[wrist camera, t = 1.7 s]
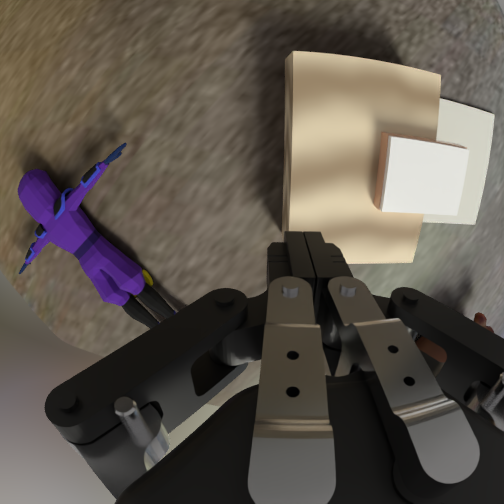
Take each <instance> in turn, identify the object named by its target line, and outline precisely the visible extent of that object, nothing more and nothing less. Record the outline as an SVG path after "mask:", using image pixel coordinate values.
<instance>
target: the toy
mask: <svg viewBox="0 0 504 504" xmlns="http://www.w3.org/2000/svg"><path fill="white" fill-rule="evenodd" d="M125 146H126V143H124V144H122V145H121V146H119V147H118V148H117V149H116V150H115V151H114V152H113V153H112V154H110V155H109V156H108V157H107V159H106V160H104V161H103V162H98V163H97V164H95V165H94V166H93V167H92V168H91V169H90V170H89V171H88V172H87V173H86V174H85V175H84V176H83V177H82V179H81V181H80V184H79V185H78V186H77V187H76V188H75V189H74V190H73V189H72V188H68V189H66V190H65V191H64V192H63V193H62V194H61V192H60V191H59V190H58V188H57V187H56V186H55V185H54V183H53V182H52V181H51V179H50V177H49V176H48V174H47V172H46V171H43V170H40V169H34V170H30V171H28V172H27V173H26V174H25V175H24V176H23V178H22V179H21V181H20V184H19V187H18V195H19V198H20V200H21V202H22V204H23V205H24V207H25V209H26V210H27V211H28V212H29V214H30V215H31V216H32V217H33V218H34V219H35V220H36V221H37V222H38V223H40V224H39V226H38V227H37V229H36V230H35V235H36V237H38V238H37V241H36V242H34V243H32V244H31V246H30V248H29V250H28V252H27V255H26V258H25V260H26V261H25V263H24V264H23V266H22V268H21V270H20V272H19V274H21V273H22V272H23V271H24V270H25V268H26V267H27V265H28V264H31V261H32V260H33V259H34V258H35V257H36V256H37V255H38V254H39V253H40V251H41V250H42V248H43V247H44V246H45V245H46V244H48V243H49V242H50V241H51V242H52V243H54V244H55V245H57V246H59V247H61V248H62V249H64V250H66V251H68V252H70V253H72V254H74V255H75V257H76V258H77V259H78V260H79V262H80V264H81V267H82V269H83V270H84V272H85V273H86V275H87V276H88V277H89V278H90V279H91V281H92V283H93V284H94V286H95V287H96V289H97V291H98V292H99V294H100V296H101V298H102V299H103V301H104V302H109V303H113V304H116V305H118V306H122V307H123V309H124V310H125V312H126V313H127V314H128V315H130V316H131V317H132V318H133V319H135V320H137V321H139V322H141V323H143V324H145V325H146V326H147V327H149V328H150V329H152V328H153V327H155V326H156V325H158V324H160V323H159V322H158V321H157V320H156V319H155V318H154V317H153V316H152V315H151V314H150V313H149V312H148V311H147V310H146V309H145V308H144V307H143V306H142V305H141V304H140V303H139V302H138V301H137V300H136V299H135V298H136V297H137V296H138V297H139V299H140V300H141V301H142V302H143V303H144V304H146V305H147V306H148V307H149V308H151V309H152V310H154V311H156V312H157V313H159V314H161V315H162V316H163V317H165V318H166V319H168V318H169V317H171V316H172V315H174V314H176V313H177V312H175V311H174V310H173V309H172V308H171V307H170V306H169V305H168V304H167V302H166V301H165V300H164V299H163V298H162V297H161V296H160V294H159V293H158V292H157V291H156V290H155V289H154V288H153V287H151V286H152V285H153V281H152V278H151V277H150V275H149V274H148V272H146V271H145V270H142V269H141V267H140V266H139V265H137V264H136V263H135V262H133V261H132V260H131V259H129V258H128V257H127V256H126V255H124V254H123V253H122V252H121V251H120V250H118V249H117V248H116V247H115V246H113V245H112V244H111V243H110V242H109V241H107V240H106V239H105V238H104V237H103V236H102V235H101V234H100V233H99V232H98V231H97V230H96V229H95V228H94V226H93V225H92V223H91V222H90V220H89V219H88V217H87V216H86V214H85V213H84V212H83V211H82V210H81V208H80V207H79V205H80V203H81V201H82V200H83V198H84V196H85V195H86V193H87V192H88V191H89V190H90V189H91V188H92V187H93V186H94V184H95V183H96V182H97V180H98V179H99V178H100V176H101V175H102V173H103V172H104V171H105V169H106V168H107V166H108V165H109V163H110V162H112V161H113V160H115V159H116V158H118V157H119V156H120V155H121V154H122V152H121V150H122V149H123V148H124V147H125Z"/></svg>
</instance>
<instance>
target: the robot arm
mask: <svg viewBox="0 0 504 504" xmlns="http://www.w3.org/2000/svg"><path fill="white" fill-rule="evenodd" d="M417 333H419V334H420V335H422V336H423V337H425V338H427V339H428V340H430V341H432V342H433V343H435V344H437V345H438V346H440V347H442V348H443V349H444V350H445V352H446V354H447V359H446V361H445V362H439V361H437V360H436V359H434V358H433V357H431V356H429V355H428V354H426V353H425V352H423V351H421V350H420V349H418V347H417V346H416V344H415V342H414V340H415V338H416V336H417ZM260 359H261V370H260V380H259V384H257V385H254V386H251V387H249V388H247V389H244V390H242V391H241V392H239V393H237V394H236V395H234V396H233V397H231V398H230V399H229V400H228V401H226V402H225V403H224V404H223V405H222V406H221V407H220V408H219V409H218V410H217V411H216V412H215V413H214V414H212V415H211V416H210V417H209V418H208V419H207V420H206V421H205V422H204V423H203V424H202V425H201V426H199V427H198V428H197V429H196V430H195V431H194V432H193V433H192V434H190V435H189V436H188V437H187V438H186V439H185V440H184V441H183V442H181V443H180V444H179V445H178V446H177V447H176V448H174V449H173V450H172V451H171V452H170V453H169V454H168V455H166V456H165V457H164V458H163V459H162V460H160V459H161V458H162V457H163V456H164V455H165V454H166V452H167V451H168V449H169V445H170V438H169V435H168V434H169V433H170V432H171V431H172V430H173V429H175V428H176V427H177V426H179V425H180V424H181V423H182V422H184V421H185V420H186V419H187V418H188V417H190V416H191V415H192V414H194V413H195V412H196V411H197V410H199V409H200V408H201V407H202V406H203V405H205V404H206V403H207V402H208V401H209V400H211V399H212V398H213V397H214V396H215V395H217V394H218V393H219V392H220V391H221V390H222V389H224V388H225V387H226V386H227V385H228V384H229V383H230V382H232V381H233V380H234V379H235V378H236V377H237V376H238V375H240V374H241V373H242V372H243V371H244V370H245V369H246V367H247V366H248V362H252V361H256V360H260ZM45 413H46V416H47V417H48V419H49V420H50V421H51V422H52V424H53V425H54V426H55V427H56V428H57V429H58V431H59V432H60V434H61V435H62V437H63V438H64V439H65V440H66V441H67V442H68V444H69V445H70V446H71V447H72V448H73V449H74V450H75V451H76V452H77V453H78V454H79V455H80V456H81V457H82V458H84V459H85V460H86V462H87V463H88V465H89V466H90V467H91V468H92V470H93V471H94V472H95V474H96V475H97V476H98V478H99V479H100V480H101V481H102V483H103V484H104V485H105V486H106V488H107V489H108V490H109V491H110V492H111V493H112V495H113V496H114V497H115V498H116V499H117V500H116V502H115V504H504V339H503V338H501V337H500V336H498V335H496V334H495V333H493V332H491V331H489V330H488V329H486V328H484V327H483V326H481V325H479V324H477V323H476V322H474V321H472V320H470V319H469V318H467V317H465V316H463V315H461V314H460V313H458V312H456V311H454V310H453V309H451V308H449V307H447V306H445V305H443V304H442V303H440V302H438V301H436V300H434V299H433V298H431V297H429V296H427V295H425V294H423V293H421V292H420V291H418V290H415V289H412V288H408V287H400V288H397V289H395V290H393V291H392V293H391V297H390V298H386V297H381V296H376V295H372V294H371V293H370V291H369V289H368V288H367V286H366V285H365V284H364V283H363V282H362V281H360V280H358V279H356V278H354V277H353V275H352V273H351V271H350V269H349V267H348V264H347V263H346V260H345V258H344V257H343V254H342V252H341V250H340V248H338V247H337V246H336V245H335V244H333V243H325V241H324V238H323V236H322V234H321V232H320V231H303V232H302V231H284V242H272V243H271V245H270V246H269V247H268V248H267V290H266V291H265V292H264V293H263V294H261V295H259V296H256V297H252V298H247V297H246V296H245V294H244V293H242V292H241V291H238V290H236V289H231V288H221V289H216V290H213V291H211V292H209V293H207V294H206V295H204V296H203V297H201V298H200V299H198V300H196V301H195V302H193V303H192V304H190V305H188V306H187V307H185V308H184V309H182V310H180V311H179V312H177V313H176V314H174V315H172V316H171V317H169V318H168V319H166V320H164V321H163V322H161V323H160V324H158V325H156V326H155V327H153V328H152V329H150V330H148V331H147V332H145V333H143V334H142V335H140V336H139V337H137V338H135V339H134V340H132V341H131V342H129V343H127V344H126V345H124V346H122V347H121V348H119V349H118V350H116V351H114V352H113V353H111V354H109V355H108V356H106V357H105V358H103V359H101V360H100V361H98V362H97V363H95V364H93V365H92V366H90V367H88V368H87V369H85V370H83V371H82V372H80V373H78V374H77V375H75V376H73V377H72V378H71V379H69V380H67V381H65V382H64V383H62V384H60V385H59V386H57V387H56V388H54V389H53V390H52V391H51V393H50V394H49V395H48V397H47V399H46V402H45ZM159 460H160V461H159Z"/></svg>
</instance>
